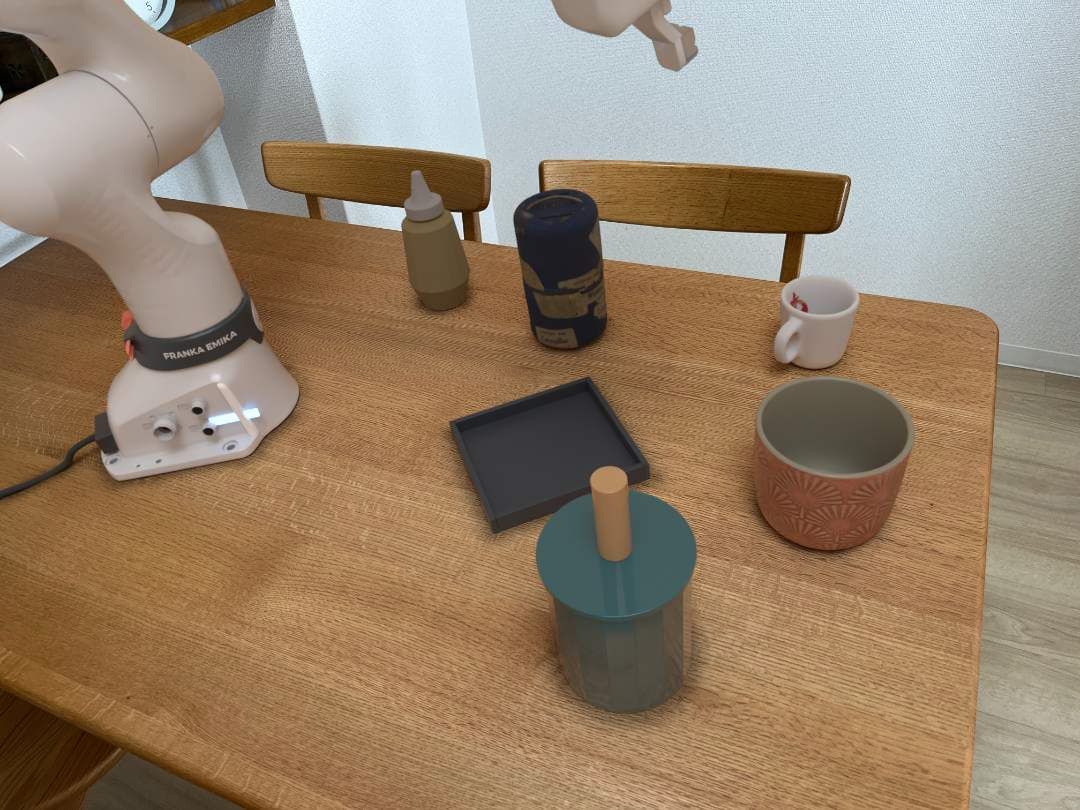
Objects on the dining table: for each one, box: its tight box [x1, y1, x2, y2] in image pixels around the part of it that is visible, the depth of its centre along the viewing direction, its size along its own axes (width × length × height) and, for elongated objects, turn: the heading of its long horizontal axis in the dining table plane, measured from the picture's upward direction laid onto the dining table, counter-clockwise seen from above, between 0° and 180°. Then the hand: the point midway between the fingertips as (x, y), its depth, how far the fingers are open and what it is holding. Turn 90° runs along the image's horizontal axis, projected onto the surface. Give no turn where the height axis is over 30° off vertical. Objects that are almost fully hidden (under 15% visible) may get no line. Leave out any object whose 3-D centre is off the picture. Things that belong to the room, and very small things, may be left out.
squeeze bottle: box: [400, 169, 471, 311], centre depth 102 cm, size 8×8×18 cm
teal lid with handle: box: [535, 466, 698, 622], centre depth 54 cm, size 11×11×8 cm
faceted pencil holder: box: [545, 578, 693, 714], centre depth 61 cm, size 10×10×13 cm
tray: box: [448, 375, 651, 535], centre depth 82 cm, size 16×15×2 cm
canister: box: [512, 188, 608, 350], centre depth 93 cm, size 10×10×18 cm
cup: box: [773, 274, 861, 370], centre depth 87 cm, size 11×8×8 cm
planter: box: [753, 375, 916, 551], centre depth 70 cm, size 12×12×11 cm
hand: (737, 12), depth 45 cm, fingers open, 8 cm apart
